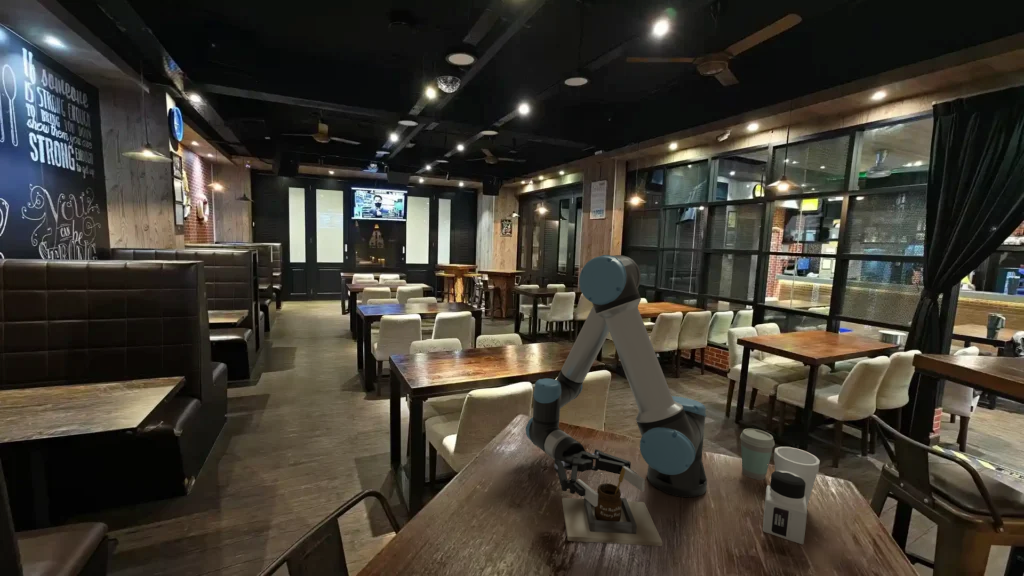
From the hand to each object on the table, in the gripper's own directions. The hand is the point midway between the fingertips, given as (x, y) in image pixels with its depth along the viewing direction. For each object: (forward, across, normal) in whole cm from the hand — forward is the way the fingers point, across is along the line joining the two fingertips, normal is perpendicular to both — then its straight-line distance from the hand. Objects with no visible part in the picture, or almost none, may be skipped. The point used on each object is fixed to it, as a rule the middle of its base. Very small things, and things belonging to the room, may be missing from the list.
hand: (620, 492), depth 94 cm
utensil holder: (-3, 0, -8) cm, 9 cm away
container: (+16, -35, -9) cm, 40 cm away
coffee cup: (-2, -52, -9) cm, 53 cm away
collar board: (-3, 0, -9) cm, 10 cm away
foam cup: (+11, -47, -9) cm, 49 cm away
